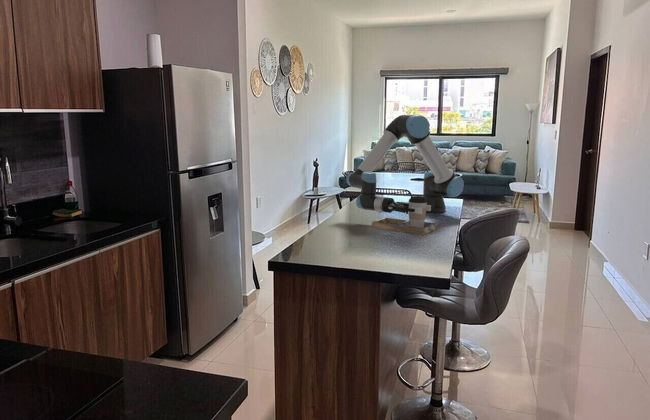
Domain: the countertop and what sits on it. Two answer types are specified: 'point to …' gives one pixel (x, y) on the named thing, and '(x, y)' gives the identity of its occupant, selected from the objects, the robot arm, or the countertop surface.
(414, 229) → the oak rack
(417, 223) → the coffee cup
